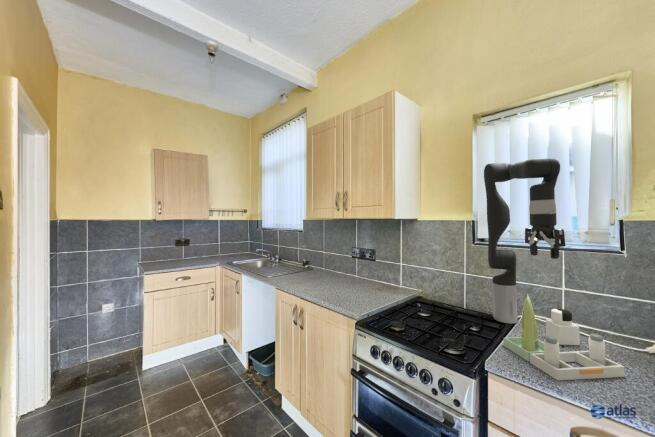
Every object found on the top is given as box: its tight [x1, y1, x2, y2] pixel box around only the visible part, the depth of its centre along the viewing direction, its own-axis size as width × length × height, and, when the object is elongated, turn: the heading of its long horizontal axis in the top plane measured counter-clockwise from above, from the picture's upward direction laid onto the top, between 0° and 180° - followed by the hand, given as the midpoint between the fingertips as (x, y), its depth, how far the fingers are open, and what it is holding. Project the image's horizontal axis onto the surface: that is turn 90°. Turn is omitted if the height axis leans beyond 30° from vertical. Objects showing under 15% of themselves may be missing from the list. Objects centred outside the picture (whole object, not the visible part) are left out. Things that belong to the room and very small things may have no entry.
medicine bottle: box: [545, 308, 581, 346], centre depth 99 cm, size 7×7×12 cm
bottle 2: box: [588, 333, 607, 366], centre depth 81 cm, size 4×4×10 cm
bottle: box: [543, 335, 560, 369], centre depth 80 cm, size 4×4×10 cm
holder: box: [530, 350, 626, 381], centre depth 80 cm, size 10×21×3 cm, turn 93°
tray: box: [503, 336, 561, 363], centre depth 91 cm, size 11×11×3 cm
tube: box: [521, 293, 539, 352], centre depth 91 cm, size 6×5×20 cm
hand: (544, 256), depth 94 cm, fingers open, 8 cm apart
